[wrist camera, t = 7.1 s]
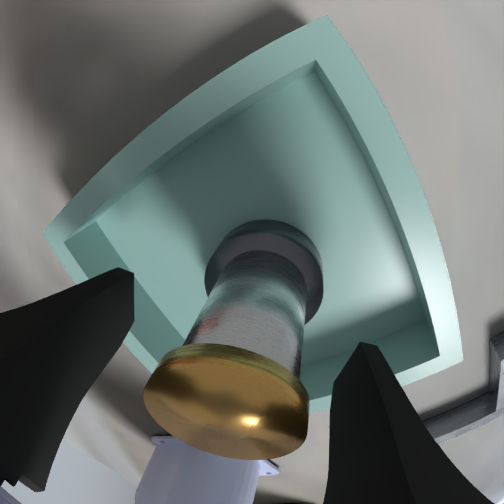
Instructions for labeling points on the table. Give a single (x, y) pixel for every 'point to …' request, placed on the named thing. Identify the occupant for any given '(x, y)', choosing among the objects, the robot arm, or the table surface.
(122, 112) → the table surface
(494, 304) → the table surface
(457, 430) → the bracket
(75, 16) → the table surface
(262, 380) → the glass jar
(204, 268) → the tray
